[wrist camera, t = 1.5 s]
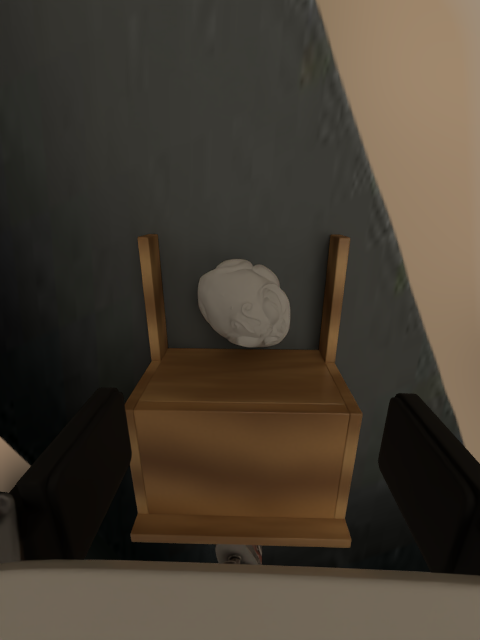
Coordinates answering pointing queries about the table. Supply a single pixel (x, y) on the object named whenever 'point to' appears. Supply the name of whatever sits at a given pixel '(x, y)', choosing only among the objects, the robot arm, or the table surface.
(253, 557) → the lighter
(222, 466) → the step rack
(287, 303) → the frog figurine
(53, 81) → the table surface
